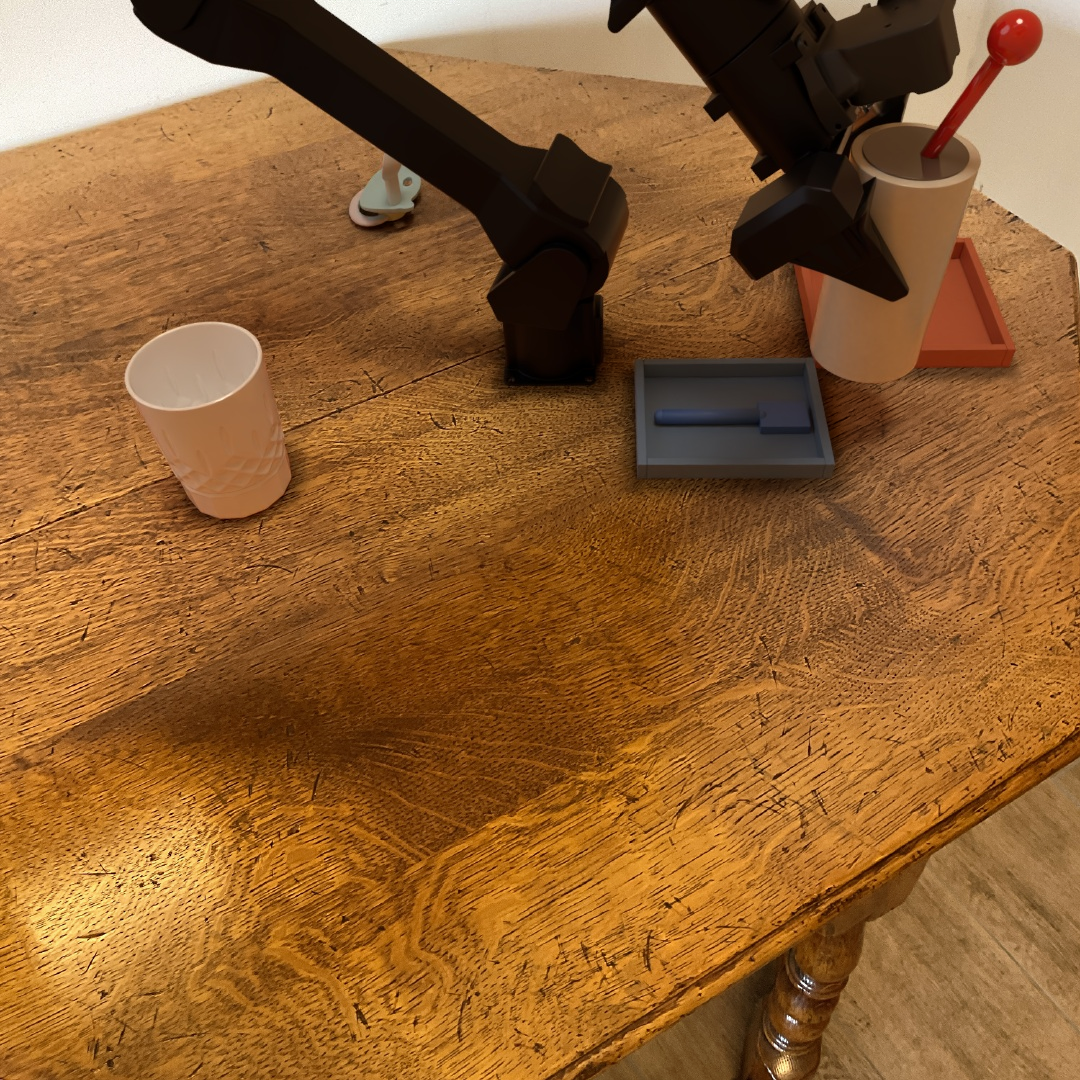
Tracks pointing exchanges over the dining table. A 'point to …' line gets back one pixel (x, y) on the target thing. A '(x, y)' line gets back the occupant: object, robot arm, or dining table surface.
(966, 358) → the terracotta tray
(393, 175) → the pacifier
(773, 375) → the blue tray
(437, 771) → the dining table surface
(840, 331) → the beige spoon holder
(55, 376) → the dining table surface
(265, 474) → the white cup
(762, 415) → the blue spatula
